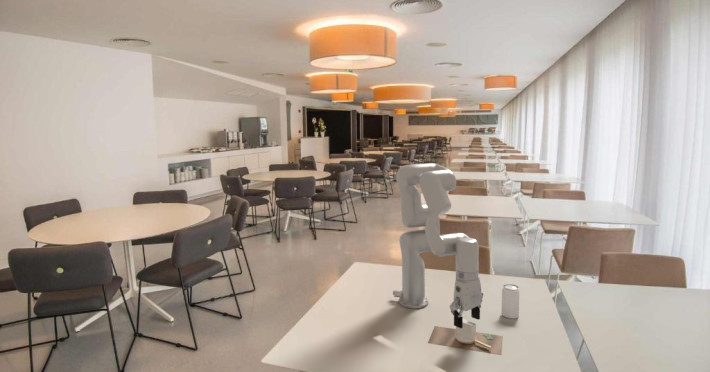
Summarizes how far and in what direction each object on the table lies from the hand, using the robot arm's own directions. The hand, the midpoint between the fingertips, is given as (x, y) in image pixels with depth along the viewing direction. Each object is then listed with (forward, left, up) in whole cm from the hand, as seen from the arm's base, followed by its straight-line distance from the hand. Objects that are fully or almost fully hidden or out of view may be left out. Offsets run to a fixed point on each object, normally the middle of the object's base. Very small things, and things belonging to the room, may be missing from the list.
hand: (467, 322), depth 146 cm
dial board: (0, 0, -8) cm, 8 cm away
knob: (+2, -1, -6) cm, 7 cm away
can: (+14, +28, -8) cm, 32 cm away
